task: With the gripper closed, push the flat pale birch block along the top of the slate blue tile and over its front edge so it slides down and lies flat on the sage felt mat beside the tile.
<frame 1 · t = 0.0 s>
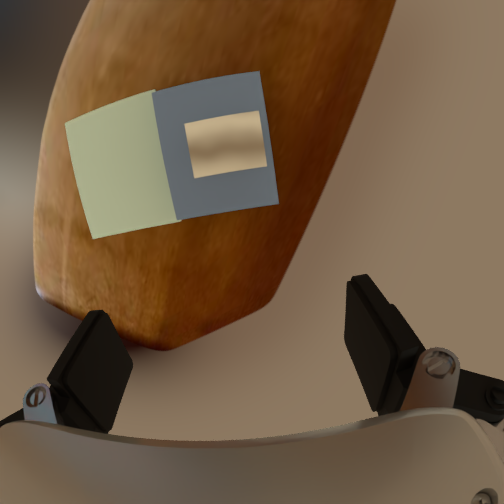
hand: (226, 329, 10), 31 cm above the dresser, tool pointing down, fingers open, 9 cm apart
birch block: (226, 143, 33), point 3 cm above the dresser, touching slate blue tile
slate blue tile: (217, 144, 36), on the dresser
mat: (118, 167, 37), on the dresser
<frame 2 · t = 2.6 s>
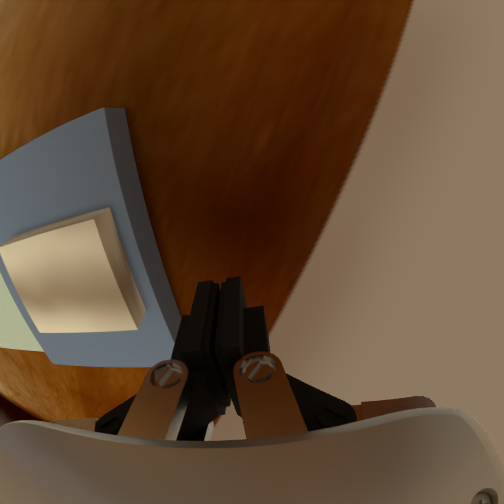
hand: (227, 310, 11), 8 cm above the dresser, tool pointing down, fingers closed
birch block: (72, 271, 16), point 3 cm above the dresser, touching slate blue tile
slate blue tile: (76, 255, 18), on the dresser
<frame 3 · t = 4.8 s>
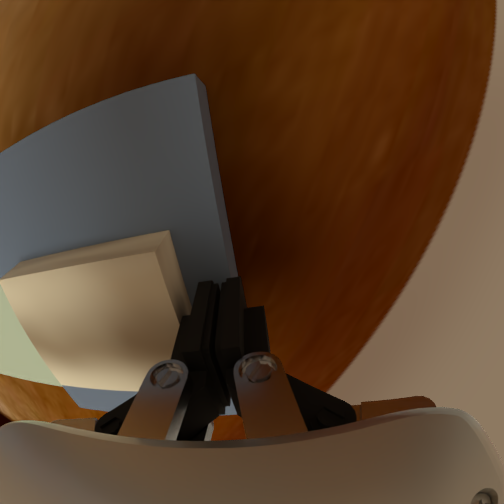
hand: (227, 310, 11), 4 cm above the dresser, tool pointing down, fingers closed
birch block: (105, 313, 12), point 3 cm above the dresser, touching gripper
slate blue tile: (116, 281, 15), on the dresser
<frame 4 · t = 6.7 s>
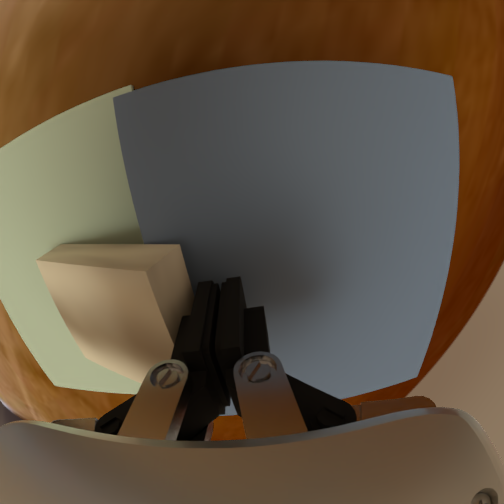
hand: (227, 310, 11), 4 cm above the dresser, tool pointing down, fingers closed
birch block: (128, 307, 13), point 2 cm above the dresser, tilted 22°, touching gripper
slate blue tile: (309, 255, 14), on the dresser
mat: (63, 288, 15), on the dresser
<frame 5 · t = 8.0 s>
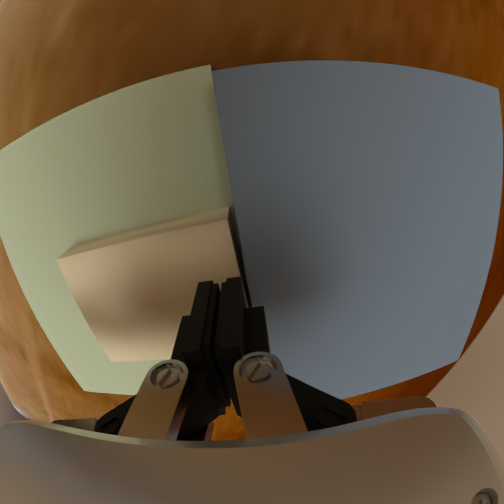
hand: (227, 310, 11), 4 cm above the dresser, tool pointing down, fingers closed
birch block: (162, 286, 15), resting on mat
slate blue tile: (375, 245, 14), on the dresser
mat: (109, 284, 15), on the dresser
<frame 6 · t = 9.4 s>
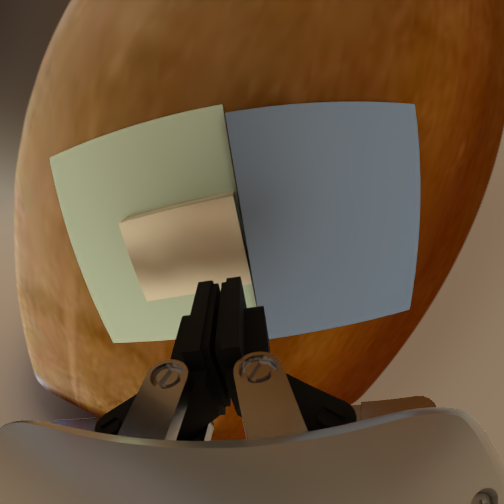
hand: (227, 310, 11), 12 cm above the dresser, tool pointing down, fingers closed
birch block: (188, 244, 23), resting on mat
slate blue tile: (330, 216, 22), on the dresser
mat: (150, 244, 23), on the dresser
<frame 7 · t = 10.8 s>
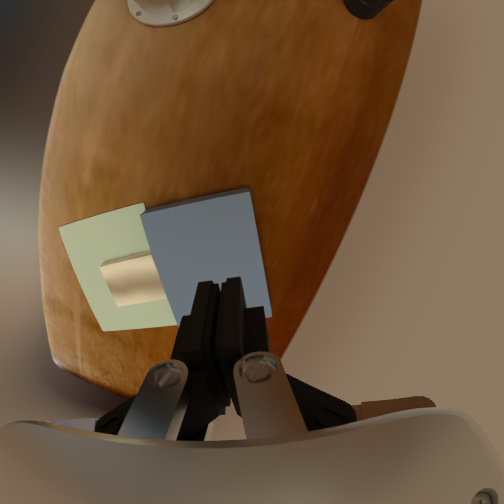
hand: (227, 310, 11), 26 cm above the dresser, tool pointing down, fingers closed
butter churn: (352, 2, 24), on the dresser
birch block: (137, 276, 39), resting on mat
slate blue tile: (211, 259, 39), on the dresser
mat: (118, 276, 40), on the dresser
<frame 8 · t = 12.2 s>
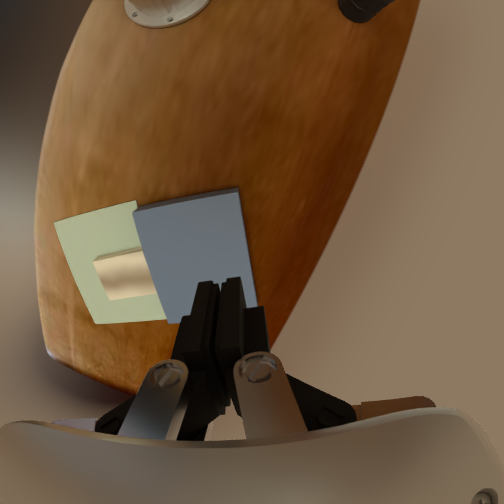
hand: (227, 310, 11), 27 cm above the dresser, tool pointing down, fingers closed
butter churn: (346, 5, 25), on the dresser
birch block: (128, 271, 40), resting on mat
slate blue tile: (200, 257, 40), on the dresser
mat: (110, 270, 40), on the dresser
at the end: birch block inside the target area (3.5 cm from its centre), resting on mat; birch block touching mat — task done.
